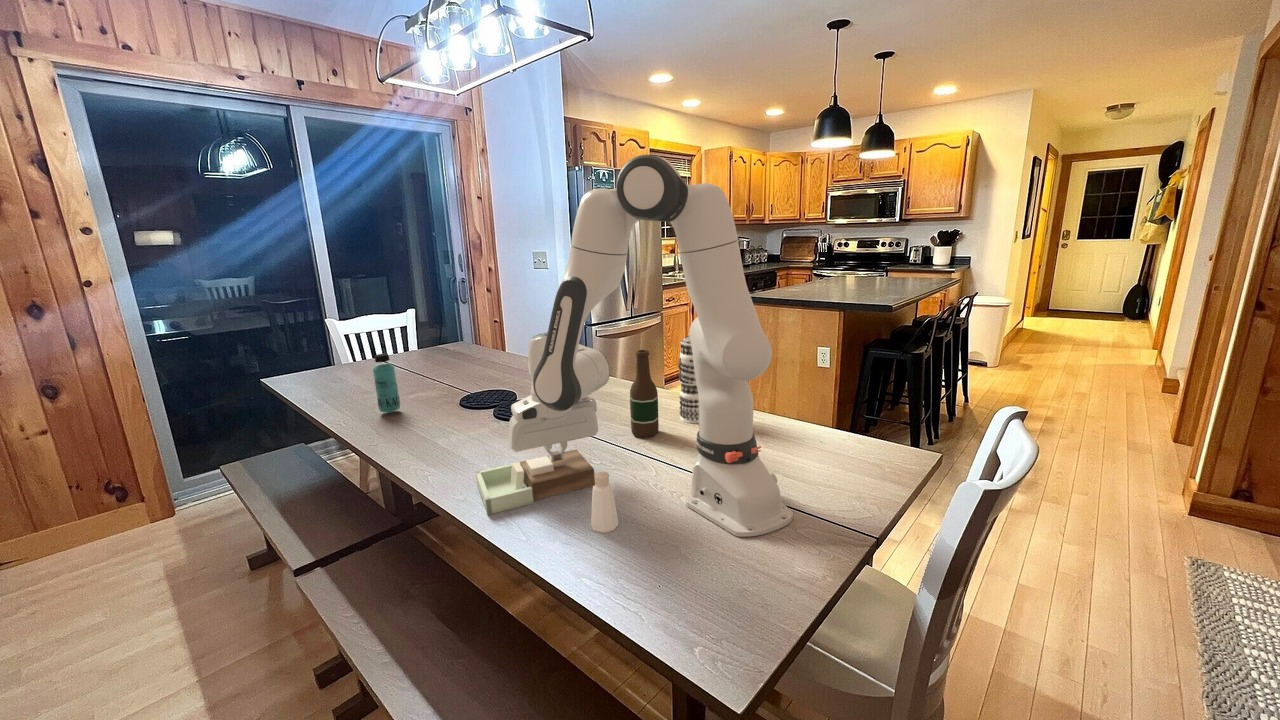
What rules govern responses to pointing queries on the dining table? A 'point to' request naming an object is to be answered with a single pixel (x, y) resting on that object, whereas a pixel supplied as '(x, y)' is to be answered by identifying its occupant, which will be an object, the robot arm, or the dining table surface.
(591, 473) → the wooden tile base
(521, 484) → the tile
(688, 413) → the decorative candle
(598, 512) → the salt shaker
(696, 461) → the robot arm
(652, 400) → the beer bottle
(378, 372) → the beverage bottle
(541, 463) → the tile
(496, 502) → the tray
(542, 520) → the dining table surface
